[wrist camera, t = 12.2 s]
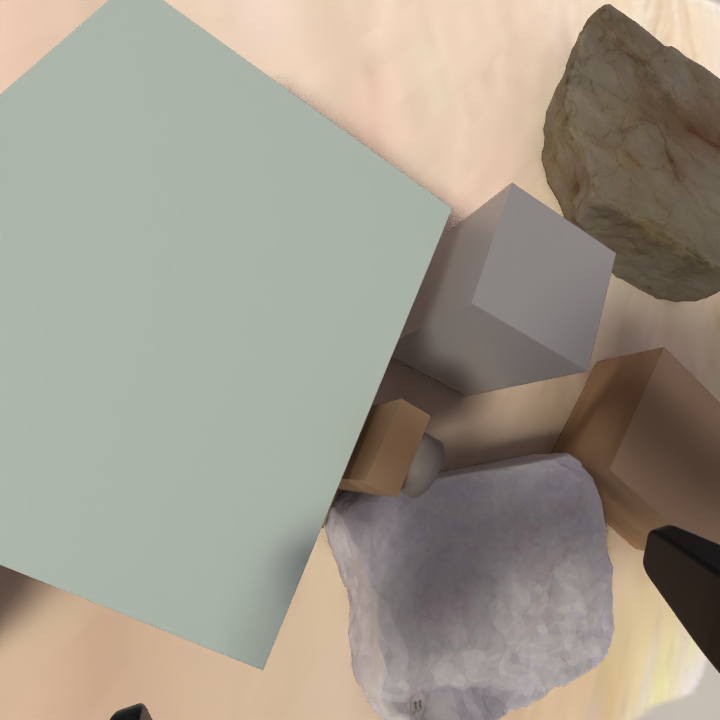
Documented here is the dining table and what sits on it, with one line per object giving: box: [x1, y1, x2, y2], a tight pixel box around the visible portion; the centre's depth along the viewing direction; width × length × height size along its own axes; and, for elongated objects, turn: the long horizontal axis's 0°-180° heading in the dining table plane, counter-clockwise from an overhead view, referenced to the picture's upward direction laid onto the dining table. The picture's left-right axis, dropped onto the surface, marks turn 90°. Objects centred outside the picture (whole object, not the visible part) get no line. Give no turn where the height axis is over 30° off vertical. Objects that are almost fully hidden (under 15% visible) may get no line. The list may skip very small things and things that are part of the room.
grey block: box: [391, 183, 616, 396], centre depth 21 cm, size 5×5×8 cm
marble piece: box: [542, 4, 720, 302], centre depth 30 cm, size 17×15×4 cm
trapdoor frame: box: [321, 399, 444, 528], centre depth 16 cm, size 5×17×8 cm, turn 64°
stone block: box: [325, 453, 614, 720], centre depth 22 cm, size 12×5×10 cm
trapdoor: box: [0, 0, 452, 670], centre depth 15 cm, size 15×12×5 cm
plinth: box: [551, 347, 720, 551], centre depth 25 cm, size 7×7×4 cm
